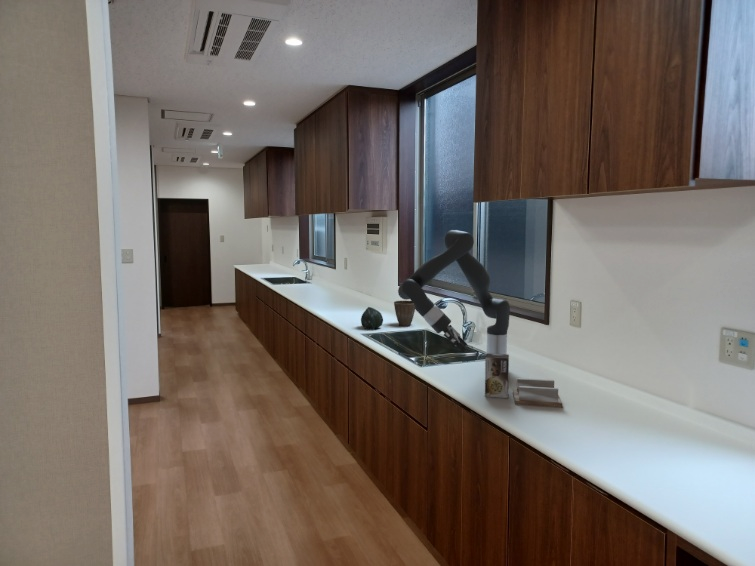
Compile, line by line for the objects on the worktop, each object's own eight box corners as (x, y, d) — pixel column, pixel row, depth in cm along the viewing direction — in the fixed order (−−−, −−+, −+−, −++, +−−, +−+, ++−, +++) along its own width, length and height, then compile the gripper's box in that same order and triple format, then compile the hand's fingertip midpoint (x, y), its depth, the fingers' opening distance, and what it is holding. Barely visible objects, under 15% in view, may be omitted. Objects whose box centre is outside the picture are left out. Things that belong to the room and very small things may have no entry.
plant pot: (419, 326, 347) (419, 303, 345) (398, 328, 342) (398, 304, 341) (411, 322, 361) (411, 300, 359) (390, 324, 356) (390, 301, 355)
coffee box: (508, 393, 209) (509, 354, 207) (508, 398, 203) (509, 358, 201) (485, 391, 212) (486, 352, 210) (484, 396, 205) (485, 356, 204)
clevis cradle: (512, 392, 210) (513, 377, 209) (556, 395, 207) (557, 379, 206) (515, 404, 196) (515, 387, 196) (562, 407, 193) (563, 390, 192)
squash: (387, 318, 349) (373, 301, 348) (386, 323, 334) (370, 305, 333) (372, 331, 351) (357, 315, 350) (369, 337, 336) (354, 320, 336)
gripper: (442, 315, 201) (471, 346, 200) (444, 309, 215) (472, 338, 214) (428, 328, 202) (457, 359, 202) (431, 322, 216) (458, 350, 215)
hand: (465, 348), depth 208 cm, fingers open, 8 cm apart
